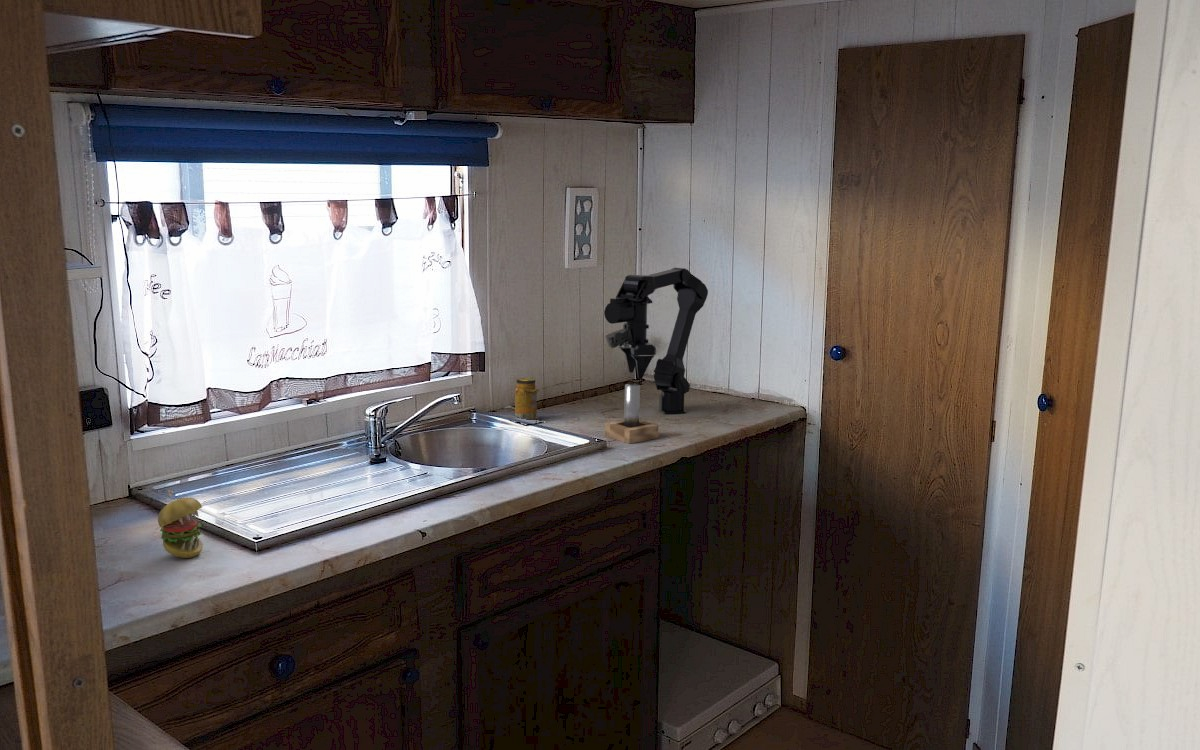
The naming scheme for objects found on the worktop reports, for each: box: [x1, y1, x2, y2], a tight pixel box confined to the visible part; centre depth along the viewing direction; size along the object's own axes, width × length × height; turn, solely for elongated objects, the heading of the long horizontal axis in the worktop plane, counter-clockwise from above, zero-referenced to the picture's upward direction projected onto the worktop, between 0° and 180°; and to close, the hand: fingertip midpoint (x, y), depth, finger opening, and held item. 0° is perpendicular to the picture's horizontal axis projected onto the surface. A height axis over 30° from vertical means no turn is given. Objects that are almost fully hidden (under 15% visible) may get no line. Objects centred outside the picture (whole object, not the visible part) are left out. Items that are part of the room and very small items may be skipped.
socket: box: [604, 419, 659, 445], centre depth 271 cm, size 10×10×4 cm
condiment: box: [514, 377, 546, 423], centre depth 286 cm, size 7×8×12 cm
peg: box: [623, 383, 641, 428], centre depth 270 cm, size 4×4×14 cm
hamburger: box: [157, 489, 204, 559], centre depth 182 cm, size 8×7×12 cm
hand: (635, 375), depth 287 cm, fingers open, 9 cm apart
